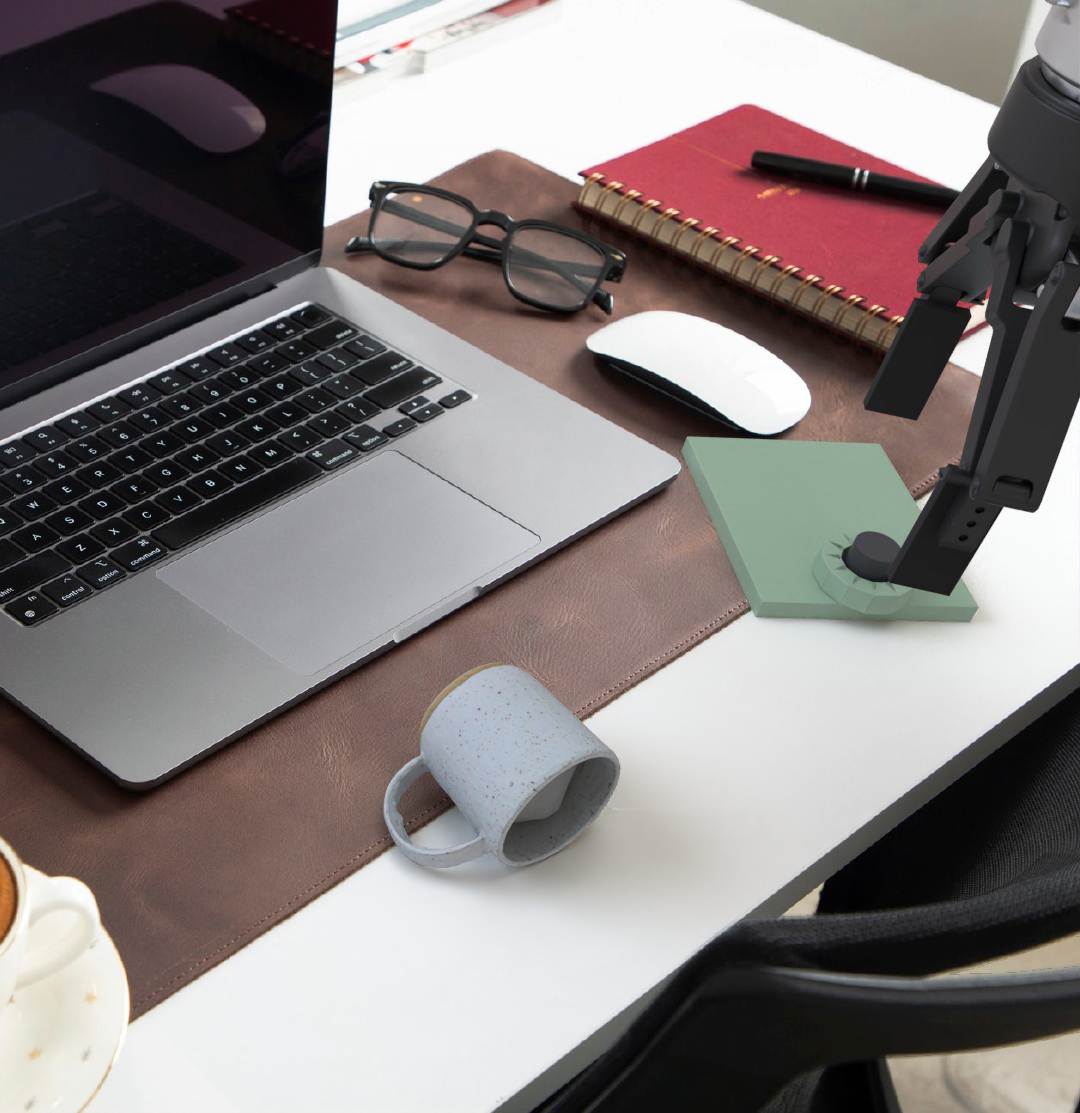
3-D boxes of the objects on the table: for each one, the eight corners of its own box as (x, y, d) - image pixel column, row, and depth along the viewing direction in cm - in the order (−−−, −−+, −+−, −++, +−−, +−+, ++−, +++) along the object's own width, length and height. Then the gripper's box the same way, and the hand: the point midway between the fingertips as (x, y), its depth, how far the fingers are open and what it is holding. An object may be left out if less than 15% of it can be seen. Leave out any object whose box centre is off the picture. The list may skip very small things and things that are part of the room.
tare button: (898, 583, 88) (909, 563, 87) (854, 582, 88) (865, 561, 87) (880, 552, 90) (891, 531, 89) (837, 551, 90) (848, 530, 89)
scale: (975, 633, 90) (997, 598, 88) (759, 628, 88) (776, 593, 86) (872, 458, 102) (889, 424, 100) (680, 451, 100) (694, 417, 98)
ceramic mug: (503, 723, 80) (533, 627, 75) (601, 831, 76) (641, 736, 70) (345, 796, 76) (366, 700, 71) (440, 916, 71) (469, 822, 66)
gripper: (982, -48, 66) (811, 337, 81) (1088, 218, 48) (844, 652, 63) (1152, -18, 66) (949, 365, 80) (1324, 264, 48) (1022, 692, 62)
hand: (902, 492), depth 71 cm, fingers open, 13 cm apart
